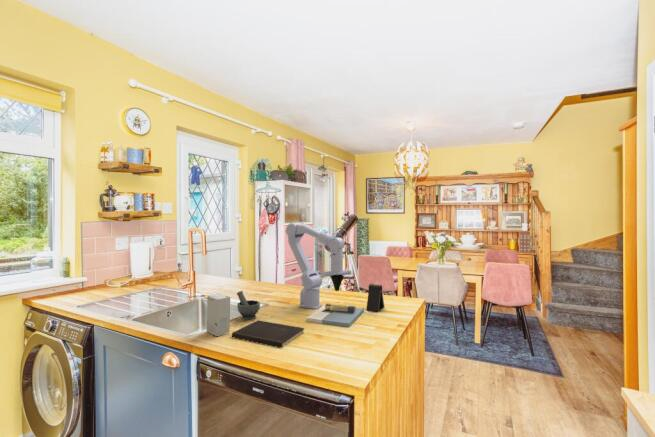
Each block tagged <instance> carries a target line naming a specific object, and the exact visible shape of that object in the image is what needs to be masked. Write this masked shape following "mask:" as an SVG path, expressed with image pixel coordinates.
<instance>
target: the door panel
mask: <svg viewBox="0 0 655 437" xmlns="http://www.w3.org/2000/svg"><path fill="white" fill-rule="evenodd" d="M345 306H352V305H350V304H349V305H348V304H346V305H345ZM354 306H355V311H354V312H346V311H333V312H332V313H331V314H330V315H328V316H327V317H326V318H325V319H323V323H322V325H331V326H337V327H346V328H350V327H351V326H352V325H353V324H354V323H355V322H356V321H357V320H358V318H360V317H361V315H362V314H363V313H364V308H362V307H361V308H359V307H357V306H356V305H354Z"/></svg>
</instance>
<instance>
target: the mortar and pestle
mask: <svg viewBox="0 0 655 437" xmlns="http://www.w3.org/2000/svg"><path fill="white" fill-rule="evenodd" d="M236 296H238V299H239V302H237V306H236V307H237V310H238V313H239V314H240V315H241V320H242V319H244V320H243V321H245V320H248V321H253V320H252V319H254V320H256V318H257V316H256V315H257V314H258V312H259V310H260V308H261V307H260V306H261V302H260V301H259V300H254V299H252V300H250V299H249V300H247V299H246V296H245V295H244V291H243V290H240V291H238V292H237V293H236Z"/></svg>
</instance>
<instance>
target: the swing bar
mask: <svg viewBox="0 0 655 437" xmlns="http://www.w3.org/2000/svg"><path fill="white" fill-rule="evenodd" d="M355 306H356V305H351V306H346V305H342V304H341V305H340V304H331V303H326V304H325V310H333V311H346V312H354V311H355Z"/></svg>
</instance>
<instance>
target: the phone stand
mask: <svg viewBox="0 0 655 437" xmlns="http://www.w3.org/2000/svg"><path fill="white" fill-rule="evenodd" d="M383 294H384V293H383V285H382V284H373V283H370V284H368V295H367V300H366V301H367V302H366V310H365V311H367V312H374V313H379V312H380V311H381V310H383V309H385V302H384V295H383Z"/></svg>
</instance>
